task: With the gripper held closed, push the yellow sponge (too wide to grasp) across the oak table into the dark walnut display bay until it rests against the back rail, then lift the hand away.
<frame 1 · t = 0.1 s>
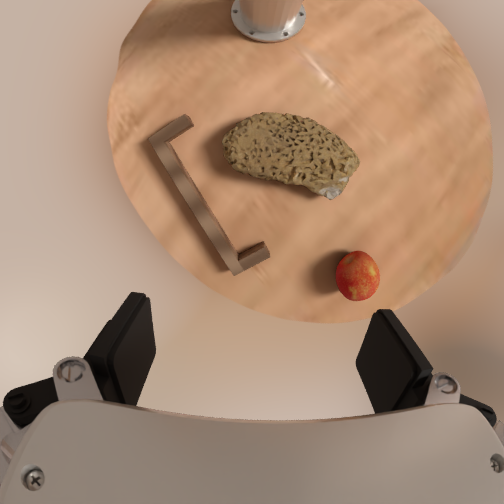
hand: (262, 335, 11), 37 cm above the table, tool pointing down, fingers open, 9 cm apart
display bay: (199, 202, 46), on the table
apple: (350, 265, 51), on the table
sponge: (287, 153, 44), on the table
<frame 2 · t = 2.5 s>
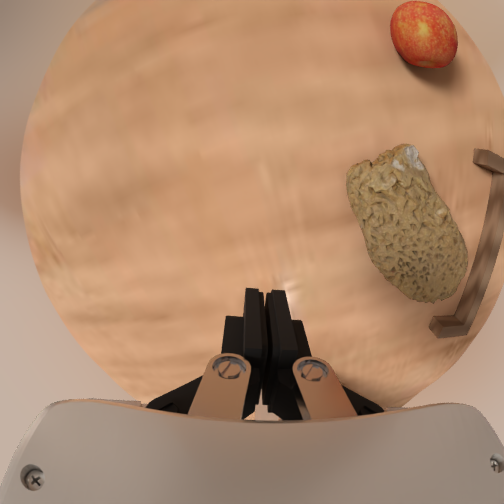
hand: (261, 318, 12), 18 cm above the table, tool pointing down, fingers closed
display bay: (481, 247, 31), on the table
apple: (406, 45, 22), on the table
sponge: (404, 226, 30), on the table
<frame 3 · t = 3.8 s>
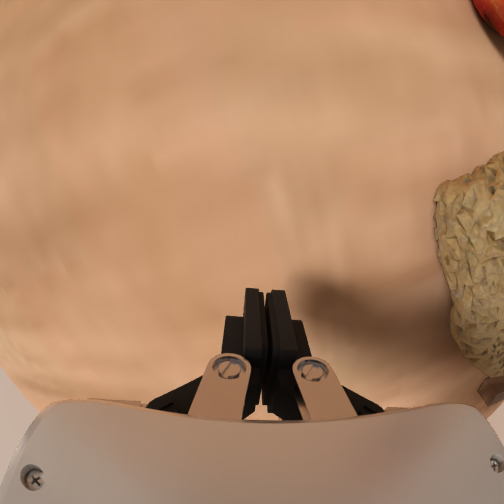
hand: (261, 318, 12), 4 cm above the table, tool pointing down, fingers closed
apple: (482, 10, 8), on the table
sponge: (487, 271, 16), on the table
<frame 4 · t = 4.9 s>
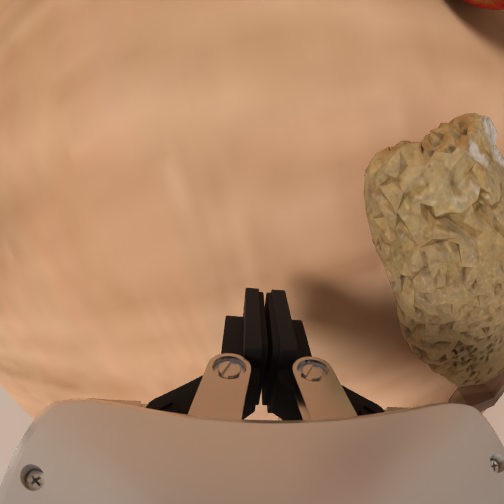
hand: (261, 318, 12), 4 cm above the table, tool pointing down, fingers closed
sponge: (455, 263, 16), on the table
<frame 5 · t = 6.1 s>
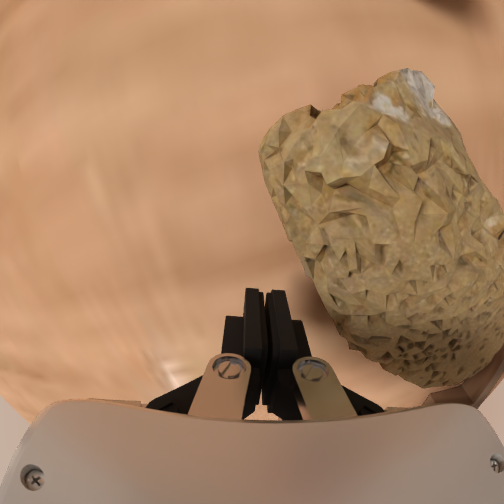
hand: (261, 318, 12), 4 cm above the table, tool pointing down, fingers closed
sponge: (412, 247, 15), on the table
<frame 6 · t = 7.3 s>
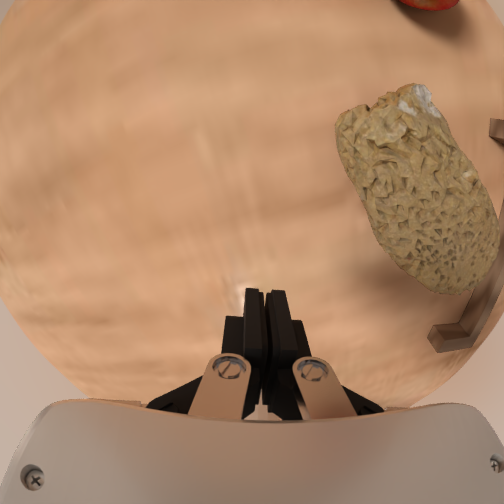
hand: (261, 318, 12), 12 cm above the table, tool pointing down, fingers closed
display bay: (496, 243, 23), on the table
sponge: (418, 195, 22), on the table
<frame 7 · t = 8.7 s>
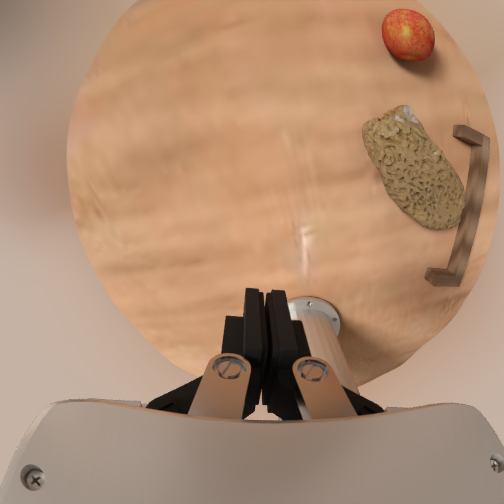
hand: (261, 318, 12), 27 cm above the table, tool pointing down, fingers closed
display bay: (466, 208, 37), on the table
apple: (395, 43, 28), on the table
sponge: (410, 170, 36), on the table
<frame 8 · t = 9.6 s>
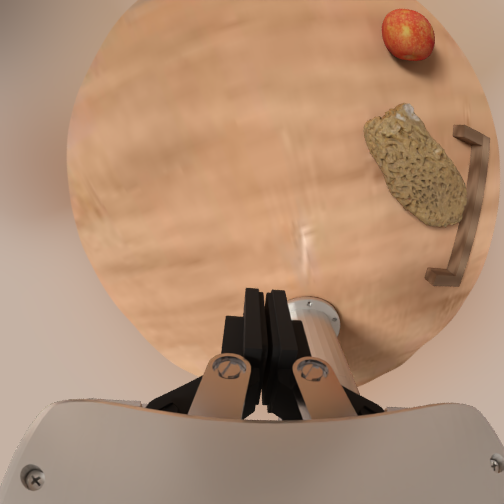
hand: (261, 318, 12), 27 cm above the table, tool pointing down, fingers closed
display bay: (466, 209, 37), on the table
apple: (395, 43, 28), on the table
sponge: (411, 169, 36), on the table
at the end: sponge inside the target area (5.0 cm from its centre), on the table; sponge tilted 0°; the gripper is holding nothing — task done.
